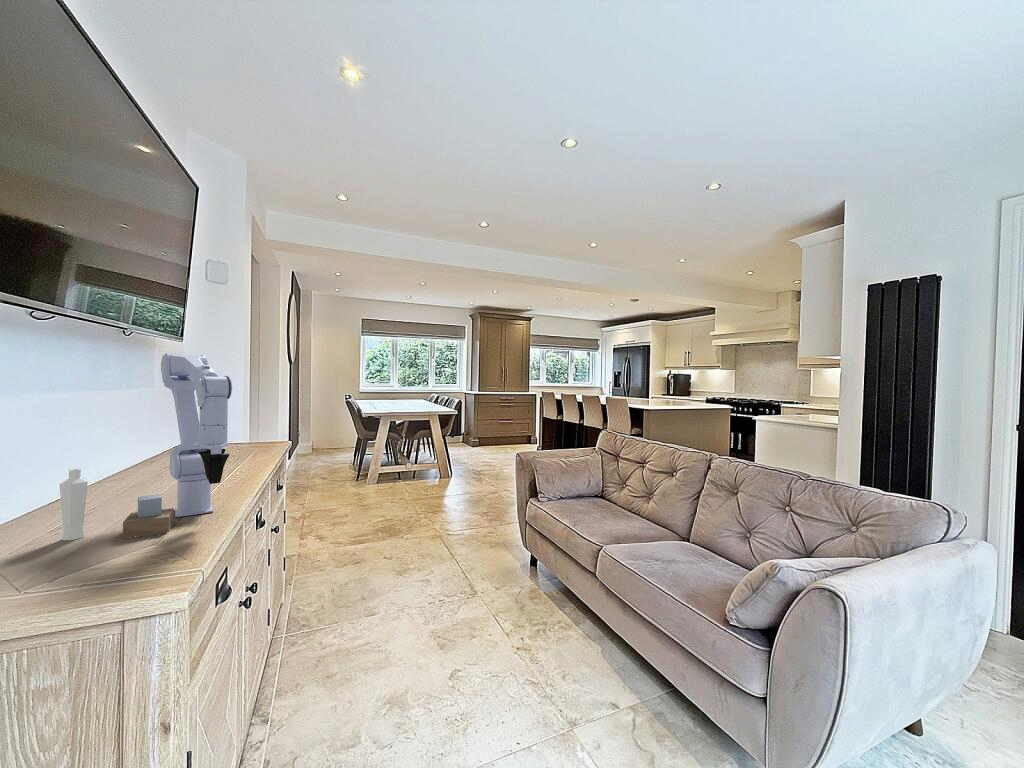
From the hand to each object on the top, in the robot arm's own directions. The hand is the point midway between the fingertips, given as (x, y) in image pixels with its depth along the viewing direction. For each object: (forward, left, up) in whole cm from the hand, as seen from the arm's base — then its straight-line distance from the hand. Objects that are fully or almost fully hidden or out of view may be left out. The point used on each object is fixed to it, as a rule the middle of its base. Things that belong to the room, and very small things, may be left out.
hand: (213, 480), depth 108 cm
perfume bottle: (-6, -25, -11) cm, 28 cm away
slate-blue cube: (-3, -12, -7) cm, 14 cm away
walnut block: (-2, -12, -11) cm, 16 cm away
